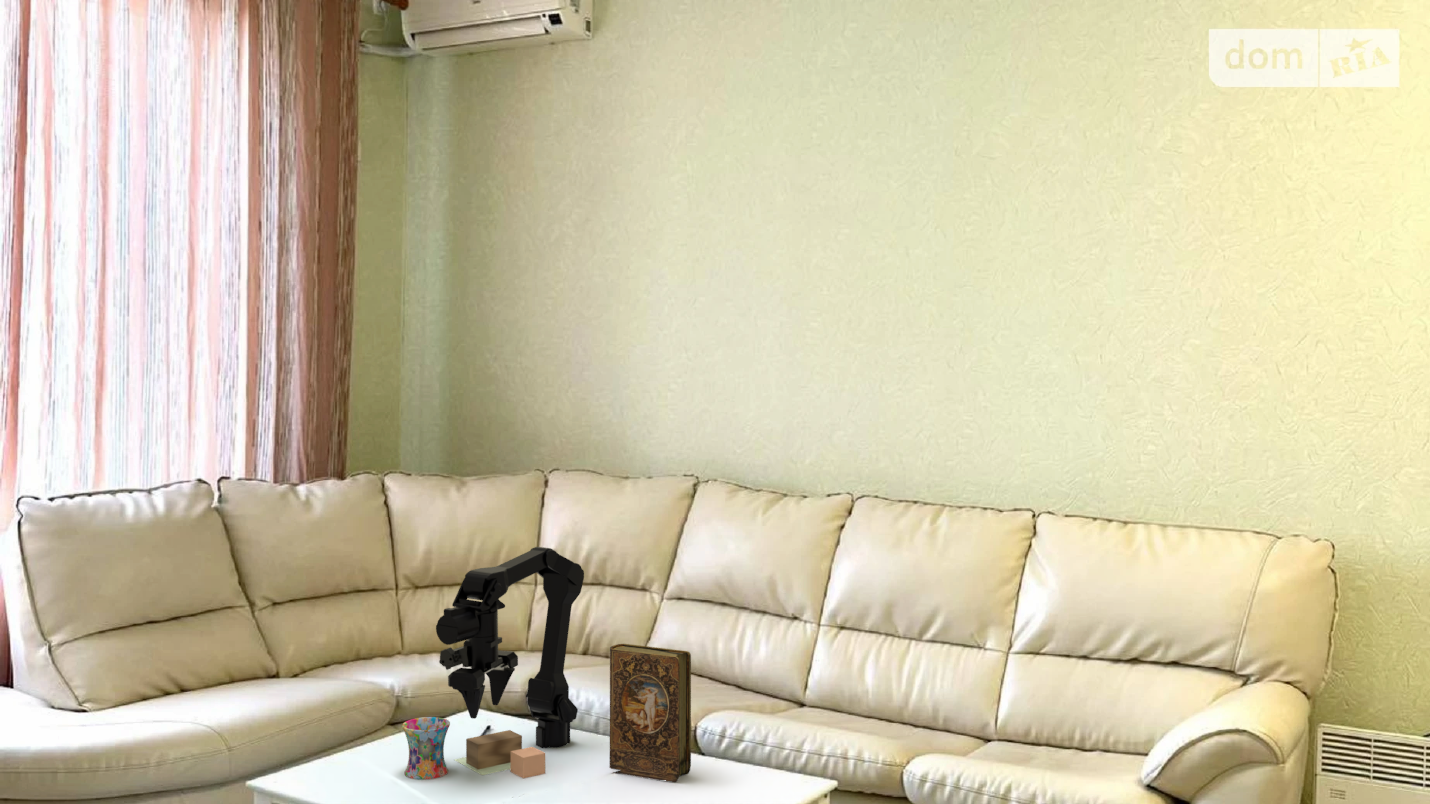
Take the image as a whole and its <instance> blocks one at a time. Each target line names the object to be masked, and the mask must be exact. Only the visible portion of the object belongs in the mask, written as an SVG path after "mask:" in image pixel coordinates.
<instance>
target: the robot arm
mask: <svg viewBox="0 0 1430 804" xmlns="http://www.w3.org/2000/svg"><path fill="white" fill-rule="evenodd" d="M535 574H538V576H540V577H541V578H542V581H543V582H542V589H543V592H544V595H545V596H546V599H547V602H548V605H547V614H546V618H545V627H544V635H543V642H542V643H543V644H542V649H541V650H542V651H541V660H540V667H539V671H538V672H537V674H536V675H535V676H534V677H533V678H532V677H530V678H529V679H528V681H527V691H526V694H525V698H527V701H526V703H527V707H528V708H529V712H530V714H531V718H533V719H534V718H535V719H537V726H536V727H535V746H536V747H538V748H541V749H549V748H550V749H551V748H552V749H554V748H556V749H557V748H562V747H565V746H567V745H568V744H571V723H573V722H574V720H576V719H577V715H578V711H579V708H578V707H577V706H576V705H575V704H574V703H573V702H572V700H571V699H570V696H569V695H570V692H569V691H570V686H569V684H568V681H567V679H566V678H567V677H566V676H565V673H564V669H565V662H566V655H567V654H566V653H567V645H568V638H569V631H570V624H571V623H570V622H571V614H572V613H571V612H572V606H573V604H574V602H575V601H576V600H577V599H578V598H579V597H578V596H580V594H581V593H582V588H583V584H584V581H585V579H584V578H585V571H584V569H583V567H582V565H580V564H579V563H576V562H574V561H572V560H570V559H569V558H567V557H564V556H563V555H561V554H560V553H558V552H557V550H555V549H553V548H550V547H543V546H542V547H541V546H534V547H532V548H531V549H530V550H529V551H527V552H524V553H522V554H520V555H518V556H515V557H514V558H511V559H509V560H507V561H505V562H503V563H501V564H499V565H496V566H491V567H480V568H477V569H471V570H468V572H466V574H465V575H464V578H463V580H462V582H461V584H460V586H459V589H458V591H457V593H456V596H455V598H454V599H453V602H452V607H447V608H444V609H443V615H441V616H440V617H439V618H438V620H437V623H436V625H435V631H436V635H437V637H438V639H439V641H441V643H442V644H444V645H446V646H450V645H453V644H458V643H460V642H463V646H459V647H457V648H452V647H447V648H445V649H443V650H441V651H440V652H439V653H440V655H439V661H438V662H439V664H440V665H441V666H442V667H445V670H446V671H448V670H451V669H452V668H454V667H457V666H461V665H462V667H459V668H457V669H455V670H453V671H452V672H451V673H450V674H449V675H447V685H448V687H450V688H452V689H453V690H456V691H458V692H459V693H460V694H461V695H462V698H463V700H464V703H465V707H466V709H467V711H468V714H469V716H470V718H471V719H476V718H477V716H478V714H479V711H480V707H481V704H482V700H483V696H484V692H485V689H486V685H485V684H484V683H485V681H486V677H488V680H489V687H490V698H491V702H492V705H493V706H498V705H499V703H500V702H501V699H502V696H503V695H504V692H505V690H506V687H507V685H508V684H509V681H510V679H511V677H512V676H513V673H514V672H515V671H516V668H515V667H517V666H519V656H518V655H517V654H516V652H515V651H510V650H500V649H499V644H501V643H503V637H502V636H499V615H498V614H499V613H498V612H499V611H498V610H501V609H505V607H506V604H505V603H503V602H502V601H501V600H500V599H501V598H502V597H503V596H504V595H506V593H507V592H508V589H509V587H511V586H512V585H514V584H515V583H518V582H521V581H522V580H524V579H526V578H528V577H530V576H532V575H535ZM486 675H487V676H486Z"/></svg>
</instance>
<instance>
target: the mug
mask: <svg viewBox="0 0 1430 804" xmlns="http://www.w3.org/2000/svg"><path fill="white" fill-rule="evenodd" d="M450 725H451V721H449V719H447V718H444V717H438V716H436V717H435V716H425V717H424V716H423V717H416V718H412V719H408V720H406V721H404V722H403V723H402V725H401V727H402V729H403V733H404V734H405V738H406V739H407V740H406V741H407V744H408V745H407V746H408V761H407V766H406V767H405V770H404V775H405V777H406V778H408V779H412V780H421V781H423V780H433V779H438V778H441V777H444V776H445V775H447V774H448V773H449V768H448V766H447V764H446V761H445V753H444V747H445V740H446V736H447V733H448V729H449V728H450Z"/></svg>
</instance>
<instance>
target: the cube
mask: <svg viewBox="0 0 1430 804" xmlns="http://www.w3.org/2000/svg"><path fill="white" fill-rule="evenodd" d="M510 772H511V773H512V774H514V775H516V776H517V777H520V778H521V779H526V778H531V777H536V776H540V775H544V774H546V752H545V751H542V750H540V749H538V748H536V747H534V746H530V747H529V746H528V747H525V748H522V749H519V750H515V751H511V769H510Z"/></svg>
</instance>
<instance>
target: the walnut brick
mask: <svg viewBox="0 0 1430 804" xmlns="http://www.w3.org/2000/svg"><path fill="white" fill-rule="evenodd" d="M465 742H466V744H465V745H466V746H465V749H466V750H465V751H466V753H465V754H466V755H465V757H466V763H467V764H469V765H471V766H473V767H474V768H476V769H483V768H487V767H492V766H496V765H501V764H505V763H510V762H511V751H515V750H519V749H523V736H522V734H520V733H517V732H515V731H513V730H511V729H509V730H508V729H507V730H502V731H498V732H493V733H488V734H483V735H478V736H474V737H468V738H466V740H465Z"/></svg>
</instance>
